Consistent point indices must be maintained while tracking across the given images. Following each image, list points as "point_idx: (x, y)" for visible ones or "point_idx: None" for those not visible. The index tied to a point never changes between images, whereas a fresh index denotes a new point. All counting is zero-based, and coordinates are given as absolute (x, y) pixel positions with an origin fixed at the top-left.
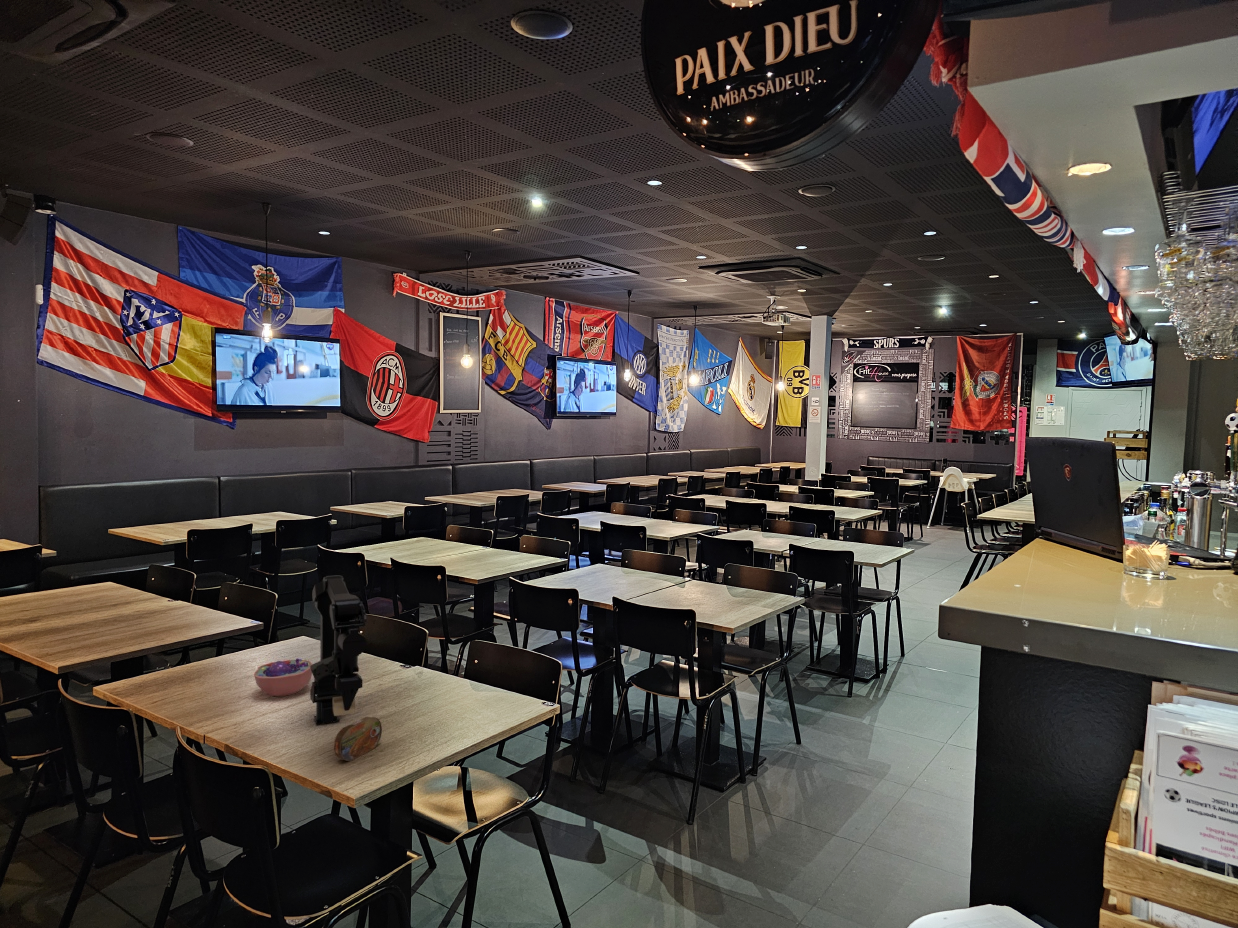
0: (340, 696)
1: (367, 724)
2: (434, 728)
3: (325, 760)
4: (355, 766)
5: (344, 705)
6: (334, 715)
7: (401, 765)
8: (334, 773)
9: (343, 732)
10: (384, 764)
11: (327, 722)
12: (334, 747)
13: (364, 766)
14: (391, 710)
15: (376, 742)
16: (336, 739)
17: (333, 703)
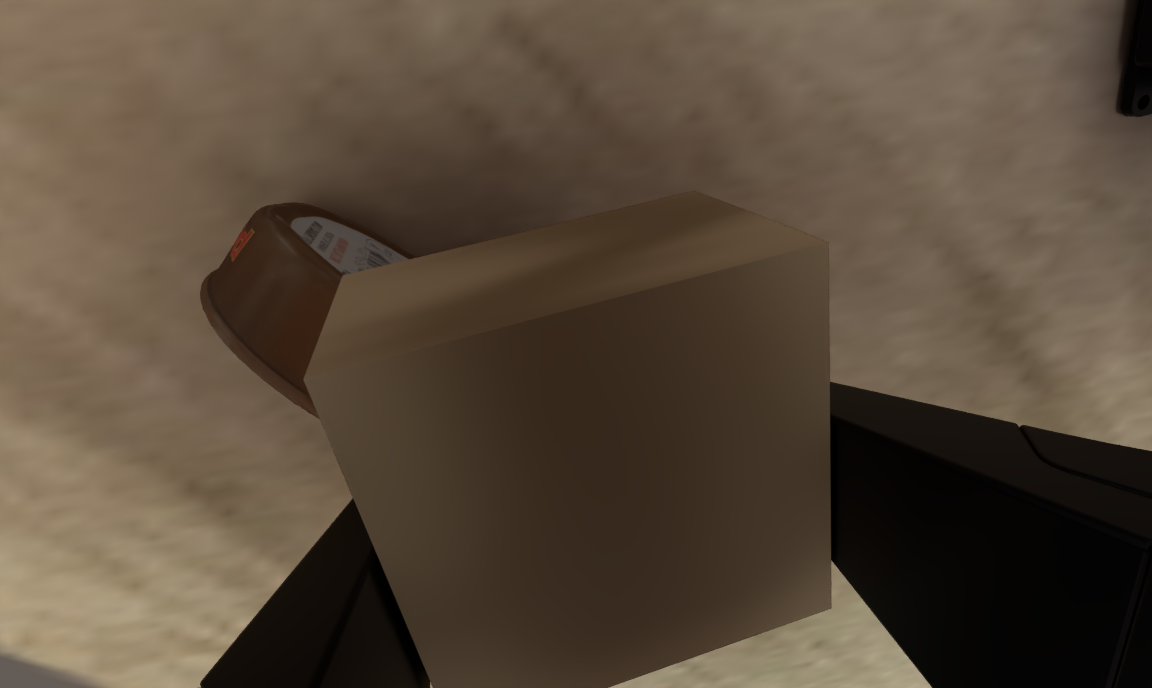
0: (825, 406)
1: None
2: (764, 672)
3: (376, 93)
4: (228, 356)
5: (315, 558)
6: (346, 277)
7: (235, 630)
8: (73, 212)
9: (284, 343)
10: (258, 535)
11: (1139, 18)
12: (260, 209)
13: (226, 418)
14: (1119, 423)
15: None
16: (261, 246)
17: (576, 274)
